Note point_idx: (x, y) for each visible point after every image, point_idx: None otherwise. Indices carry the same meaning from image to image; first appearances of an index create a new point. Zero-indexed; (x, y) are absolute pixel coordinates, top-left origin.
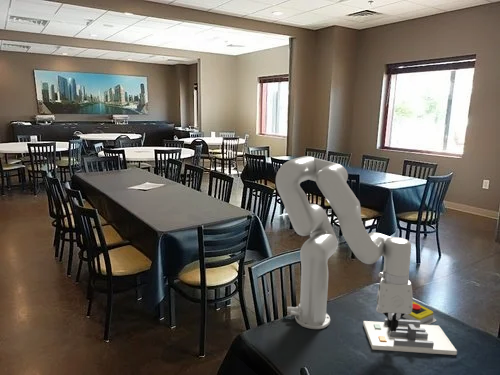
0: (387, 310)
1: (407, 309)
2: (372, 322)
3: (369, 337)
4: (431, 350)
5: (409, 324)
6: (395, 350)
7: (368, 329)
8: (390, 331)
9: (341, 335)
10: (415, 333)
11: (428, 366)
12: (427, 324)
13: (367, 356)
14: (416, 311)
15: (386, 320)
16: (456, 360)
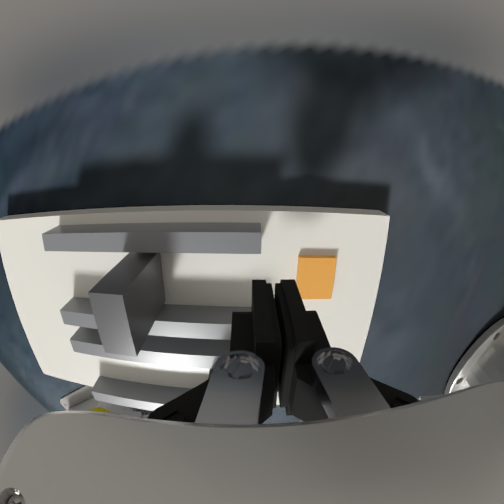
0: (478, 416)
1: (66, 475)
2: None
3: (376, 287)
4: (69, 213)
5: (129, 351)
6: (254, 206)
7: (355, 348)
8: None
9: (458, 300)
10: (106, 278)
11: (118, 100)
12: (81, 389)
13: (414, 151)
14: None
15: None
16: (11, 180)
